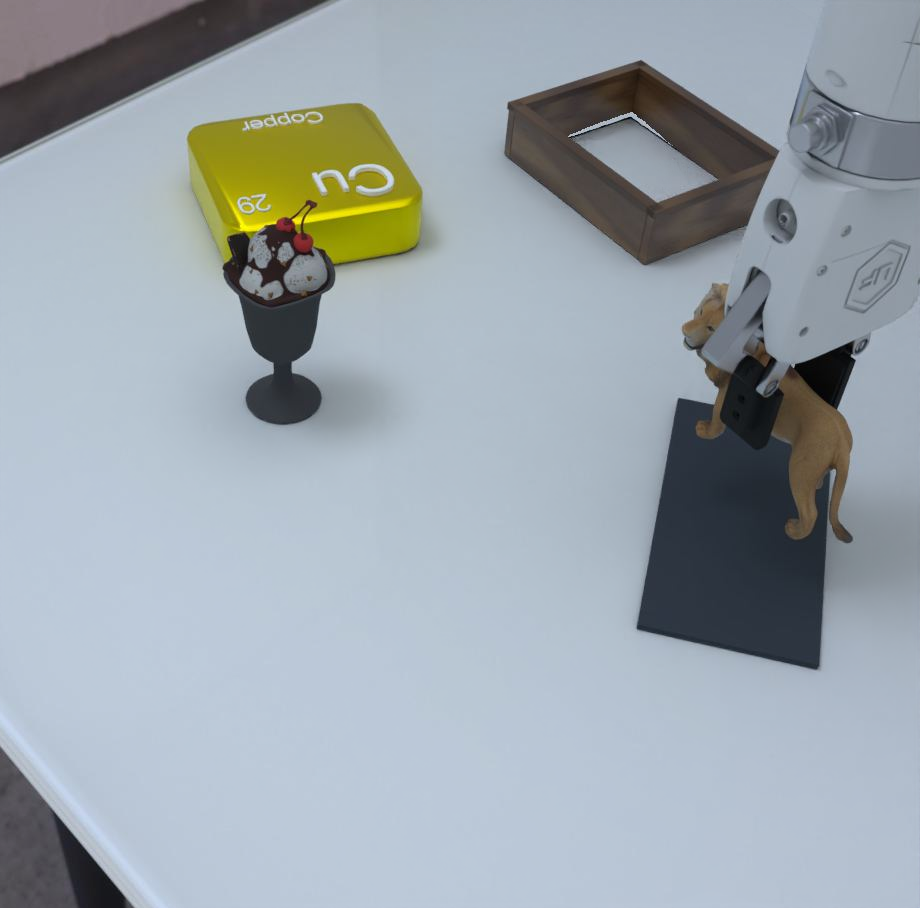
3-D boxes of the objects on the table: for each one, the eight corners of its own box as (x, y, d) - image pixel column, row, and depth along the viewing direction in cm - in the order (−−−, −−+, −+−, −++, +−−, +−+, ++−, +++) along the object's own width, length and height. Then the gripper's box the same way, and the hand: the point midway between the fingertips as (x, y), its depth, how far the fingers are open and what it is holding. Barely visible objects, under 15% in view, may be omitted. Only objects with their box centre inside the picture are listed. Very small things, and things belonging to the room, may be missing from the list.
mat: (677, 401, 87) (678, 397, 86) (831, 432, 85) (832, 427, 85) (636, 628, 74) (637, 624, 73) (817, 669, 72) (819, 665, 72)
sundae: (354, 408, 85) (359, 210, 74) (266, 446, 83) (256, 247, 72) (301, 353, 89) (297, 156, 78) (214, 388, 86) (197, 189, 75)
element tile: (366, 146, 107) (367, 91, 103) (428, 250, 97) (431, 194, 94) (185, 173, 103) (180, 118, 100) (231, 284, 94) (227, 227, 90)
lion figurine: (632, 398, 78) (684, 287, 70) (690, 363, 80) (746, 253, 73) (819, 569, 72) (896, 468, 65) (875, 526, 75) (955, 424, 68)
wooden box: (631, 110, 112) (641, 59, 109) (779, 212, 102) (795, 160, 99) (501, 154, 107) (507, 101, 103) (644, 266, 97) (655, 212, 93)
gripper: (804, 211, 54) (709, 516, 68) (1066, 107, 61) (932, 403, 74) (682, 129, 58) (616, 431, 72) (939, 39, 65) (834, 332, 78)
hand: (777, 414), depth 73 cm, fingers closed on lion figurine, 4 cm apart
